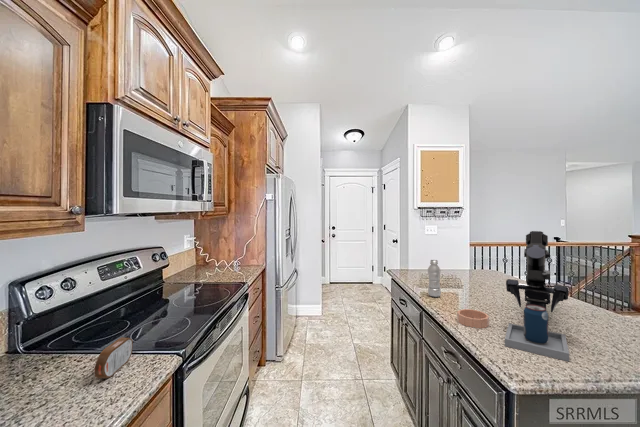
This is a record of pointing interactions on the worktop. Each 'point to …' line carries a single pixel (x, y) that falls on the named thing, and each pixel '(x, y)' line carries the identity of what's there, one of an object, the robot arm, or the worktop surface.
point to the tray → (551, 348)
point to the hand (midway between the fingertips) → (535, 309)
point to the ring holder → (473, 318)
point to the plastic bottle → (434, 279)
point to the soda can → (536, 324)
